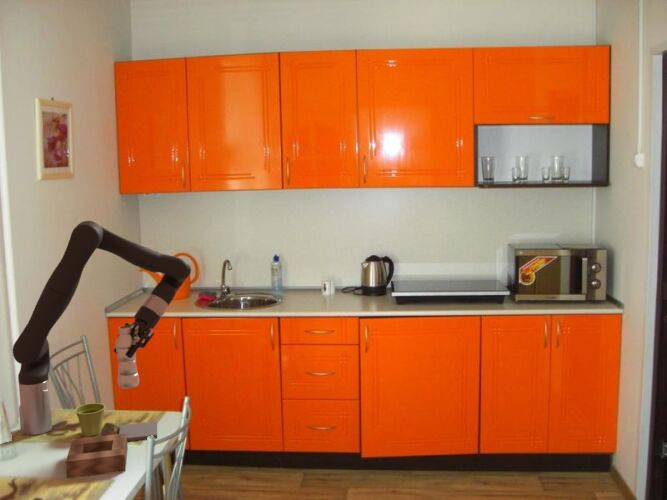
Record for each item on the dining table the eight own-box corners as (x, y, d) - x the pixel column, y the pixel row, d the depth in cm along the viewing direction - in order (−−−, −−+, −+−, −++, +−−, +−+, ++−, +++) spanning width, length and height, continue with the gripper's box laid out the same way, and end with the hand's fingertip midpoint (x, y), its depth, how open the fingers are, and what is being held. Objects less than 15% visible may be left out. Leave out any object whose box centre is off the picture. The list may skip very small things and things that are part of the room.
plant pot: (100, 439, 219) (99, 413, 218) (72, 439, 219) (70, 413, 218) (110, 427, 228) (109, 403, 227) (83, 427, 229) (81, 403, 227)
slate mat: (118, 442, 216) (118, 439, 216) (120, 427, 228) (120, 425, 228) (157, 437, 219) (156, 434, 219) (157, 423, 231) (156, 421, 231)
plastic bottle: (133, 391, 213) (129, 330, 210) (114, 390, 215) (109, 329, 212) (143, 384, 219) (139, 325, 217) (124, 383, 221) (120, 324, 218)
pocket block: (66, 478, 192) (65, 461, 191) (73, 454, 207) (72, 439, 207) (125, 471, 196) (124, 454, 195) (127, 448, 211) (126, 433, 211)
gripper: (131, 302, 224) (101, 344, 217) (156, 307, 214) (126, 352, 207) (146, 314, 228) (117, 356, 221) (171, 320, 219) (142, 365, 212)
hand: (122, 354), depth 214 cm, fingers closed on plastic bottle, 6 cm apart
